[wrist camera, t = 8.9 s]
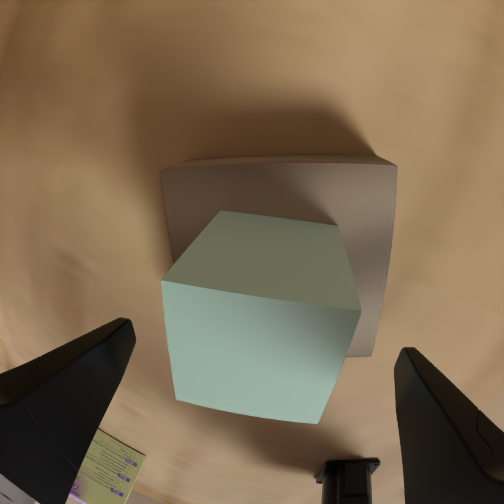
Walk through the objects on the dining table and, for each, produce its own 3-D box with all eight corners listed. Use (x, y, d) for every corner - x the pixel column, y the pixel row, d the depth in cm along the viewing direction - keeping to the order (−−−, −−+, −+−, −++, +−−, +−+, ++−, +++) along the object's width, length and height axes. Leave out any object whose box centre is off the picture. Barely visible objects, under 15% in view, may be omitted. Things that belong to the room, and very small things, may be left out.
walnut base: (362, 314, 18) (371, 356, 15) (211, 310, 20) (192, 349, 16) (375, 154, 14) (397, 165, 11) (191, 159, 16) (159, 171, 12)
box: (80, 428, 34) (48, 483, 24) (83, 417, 32) (46, 478, 21) (138, 463, 35) (113, 520, 25) (147, 455, 33) (119, 520, 22)
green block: (317, 322, 14) (317, 424, 9) (217, 307, 15) (176, 399, 10) (338, 226, 12) (362, 310, 7) (220, 210, 13) (160, 280, 7)
